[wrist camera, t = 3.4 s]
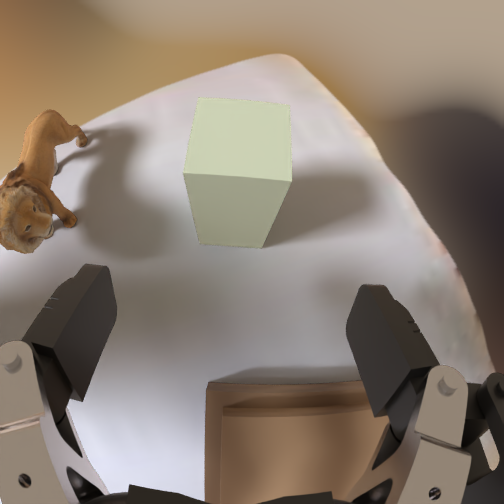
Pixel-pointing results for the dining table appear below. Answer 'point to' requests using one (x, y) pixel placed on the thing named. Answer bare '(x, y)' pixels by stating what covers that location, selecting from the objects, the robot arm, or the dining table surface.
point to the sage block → (237, 169)
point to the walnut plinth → (286, 440)
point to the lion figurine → (35, 185)
